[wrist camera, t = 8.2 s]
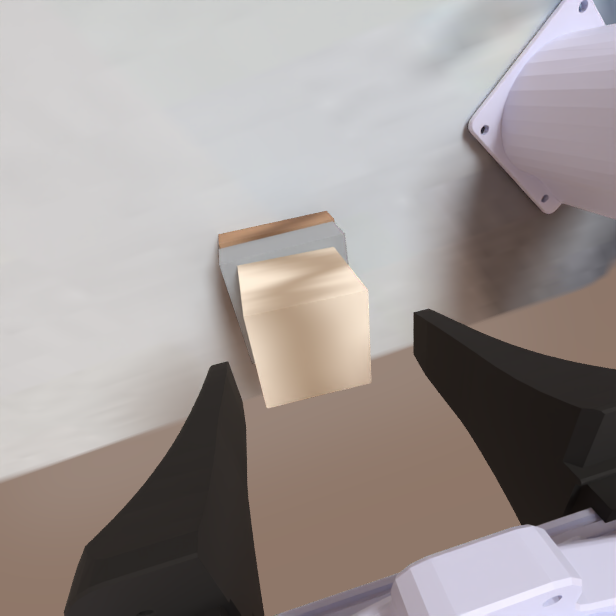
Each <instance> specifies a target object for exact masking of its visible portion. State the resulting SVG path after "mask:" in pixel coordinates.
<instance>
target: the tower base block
mask: <svg viewBox="0 0 616 616" xmlns="http://www.w3.org/2000/svg"><path fill="white" fill-rule="evenodd" d="M331 221H333V222H334V218H333V217H332V216H331V215H330V214H329V213H328V212H327V211H324V212H319V213H315V214H310V215H305V216H301V217H296V218H292V219H287V220H283V221H278V222H273V223H269V224H264V225H260V226H255V227H250V228H246V229H241V230H237V231H232V232H227V233H223V234H219V246H220V249H221V248H225V247H229V246H233V245H237V244H241V243H245V242H249V241H254V240H258V239H262V238H266V237H270V236H274V235H278V234H282V233H286V232H290V231H294V230H299V229H303V228H307V227H311V226H315V225H319V224H323V223H327V222H331Z"/></svg>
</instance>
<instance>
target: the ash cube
mask: <svg viewBox="0 0 616 616" xmlns="http://www.w3.org/2000/svg"><path fill="white" fill-rule="evenodd" d="M237 267H238V275H239V284H240V292H241V300H242V309H243V317H244V321H245V325H246V329H247V333H248V337H249V341H250V345H251V349H252V353H253V356H254V360H255V364H256V368H257V372H258V376H259V380H260V384H261V388H262V392H263V396H264V400H265V404H266V408H267V409H268V408H272V407H275V406H280V405H283V404H288V403H292V402H296V401H300V400H304V399H308V398H312V397H316V396H320V395H324V394H328V393H332V392H336V391H340V390H344V389H348V388H352V387H356V386H360V385H364V384H368V383H371V359H370V331H369V302H368V289H367V288H366V287H365V286H364V284H363V283H362V282H361V281H360V279H359V278H358V277H357V275H356V274H355V273H354V272H353V270H352V269H351V268H350V267H349V265H348V264H347V263H346V262H345V260H344V259H343V258H342V257H341V255H340V254H339V253H338V251H337V250H336V249H335V248H334V247H329V248H324V249H319V250H314V251H309V252H304V253H299V254H294V255H289V256H284V257H279V258H274V259H269V260H263V261H258V262H253V263H248V264H243V265H238V266H237Z"/></svg>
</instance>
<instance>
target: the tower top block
mask: <svg viewBox="0 0 616 616" xmlns="http://www.w3.org/2000/svg"><path fill="white" fill-rule="evenodd" d="M329 247H334V248H335V249H336V250H337V251H338V253H339V254H340V255H341V257H342V258H343V259H344V260H345V262H346V263H347V264H348V256H347V248H346V240H345V233H344V232H343V231H342V230H341V229H340V228H339V227H338V226H337V225H336V224H335V223H334V222H333V221H331V222H327V223H323V224H319V225H315V226H311V227H307V228H303V229H299V230H294V231H290V232H286V233H282V234H278V235H274V236H270V237H266V238H262V239H258V240H254V241H249V242H245V243H241V244H237V245H233V246H229V247H225V248H221V249H219V266H220V269H221V272H222V275H223V278H224V281H225V284H226V287H227V290H228V293H229V296H230V299H231V302H232V305H233V308H234V311H235V314H236V317H237V320H238V323H239V326H240V329H241V332H242V335H243V338H244V341H245V344H246V347H247V350H248V353H249V356H250V359H251V362H252V364H253V363H255V360H254V356H253V353H252V349H251V345H250V341H249V337H248V333H247V329H246V325H245V321H244V317H243V309H242V300H241V292H240V284H239V275H238V267H237V266H238V265H243V264H248V263H253V262H258V261H263V260H269V259H274V258H279V257H284V256H289V255H294V254H299V253H304V252H309V251H314V250H319V249H324V248H329ZM348 265H349V264H348Z"/></svg>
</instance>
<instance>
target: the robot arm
mask: <svg viewBox="0 0 616 616" xmlns="http://www.w3.org/2000/svg"><path fill="white" fill-rule="evenodd" d="M580 3H581V5H582V6H581V10H580V12H579V5H580ZM483 126H484V127H485V130H484V132H483V133H482V134H481V128H482V127H483ZM468 129H469V131H470V133H471V134H472V135H473V136H474V137H475V138H476V139H477V140H478V141H479V142H480V144H481V145H482V146H483V147H484V148H485V149H486V150H487V151H488V152H489V153H490V155H491V156H492V157H493V158H494V159H495V160H496V161H497V162H498V163H499V164H500V166H501V167H502V168H503V169H504V170H505V171H506V172H507V173H508V174H509V175H510V177H511V178H512V179H513V180H514V181H515V182H516V183H517V184H518V185H519V186H520V187H521V189H522V190H523V191H524V192H525V193H526V194H527V195H528V196H529V197H530V198H531V200H532V201H533V202H534V203H535V204H536V205H537V206H538V207H539V208H540V209H541V211H542V212H544V213H546V214H551V213H553V212H554V211H556V209H557V208H558V207H559V206H560V205H561V204H562V203H563V204H567V205H570V206H573V207H576V208H580V209H583V210H586V211H589V212H593V213H596V214H599V215H603V216H606V217H609V218H612V219H616V24H611V25H605V23H604V21H603V19H602V17H601V16H600V14H599V12H598V10H597V8H596V6H595V4H594V2H593V1H592V0H562V2H561V3H560V4H559V6H558V7H557V8H556V9H555V11H554V12H553V13H552V15H551V16H550V17H549V18H548V20H547V21H546V22H545V24H544V25H543V26H542V27H541V29H540V30H539V31H538V33H537V34H536V35H535V36H534V38H533V39H532V40H531V42H530V43H529V44H528V45H527V47H526V48H525V49H524V51H523V52H522V53H521V54H520V56H519V57H518V58H517V60H516V61H515V62H514V64H513V65H512V66H511V67H510V69H509V70H508V71H507V73H506V74H505V75H504V76H503V78H502V79H501V80H500V82H499V83H498V84H497V85H496V87H495V88H494V89H493V91H492V92H491V93H490V94H489V96H488V97H487V98H486V100H485V101H484V102H483V103H482V105H481V106H480V107H479V109H478V110H477V111H476V112H475V114H474V115H473V116H472V118H471V119H470V121H469V124H468ZM543 196H544V198H543V199H542V197H543ZM541 199H542V200H541ZM414 356H415V357H416V359H417V361H418V362H419V364H420V366H421V368H422V370H423V371H424V373H425V375H426V376H427V377H428V379H429V380H430V381H431V383H432V384H433V385H434V387H435V388H436V389H437V391H438V392H439V393H440V394H441V396H442V397H443V398H444V400H445V401H446V402H447V403H448V405H449V406H450V407H451V409H452V410H453V411H454V412H455V414H456V415H457V416H458V418H459V419H460V420H461V422H462V423H463V424H464V426H465V427H466V429H467V430H468V432H469V434H470V435H471V437H472V438H473V440H474V442H475V443H476V445H477V446H478V448H479V450H480V451H481V452H482V455H483V456H484V458H485V460H486V461H487V463H488V465H489V466H490V468H491V470H492V472H493V473H494V475H495V477H496V478H497V480H498V482H499V484H500V486H501V488H502V489H503V491H504V493H505V495H506V497H507V499H508V500H509V502H510V504H511V506H512V508H513V510H514V512H515V513H516V516H517V517H518V519H519V521H520V523H521V526H516V527H511V528H508V529H506V530H503V531H500V532H497V533H494V534H491V535H488V536H485V537H482V538H479V539H476V540H473V541H470V542H467V543H464V544H461V545H458V546H455V547H452V548H450V549H446V550H443V551H441V552H438V553H435V554H432V555H429V556H426V557H424V558H422V559H420V560H418V561H416V562H414V563H411V564H410V565H408V566H407V567H406V568H405V569H404V570H403V571H401V572H400V573H397V574H394V575H391V576H388V577H385V578H382V579H380V580H376V581H374V582H371V583H368V584H365V585H362V586H359V587H356V588H353V589H350V590H347V591H344V592H341V593H338V594H336V595H332V596H330V597H327V598H324V599H321V600H318V601H315V602H312V603H309V604H306V605H303V606H300V607H297V608H294V609H292V610H289V611H286V612H283V613H280V614H277V615H274V616H616V370H615V369H609V368H603V367H598V366H592V365H587V364H582V363H576V362H572V361H567V360H563V359H559V358H555V357H551V356H547V355H543V354H540V353H536V352H533V351H530V350H527V349H523V348H520V347H517V346H514V345H511V344H509V343H506V342H503V341H501V340H498V339H495V338H493V337H490V336H488V335H486V334H483V333H481V332H479V331H476V330H474V329H472V328H470V327H467V326H465V325H463V324H461V323H459V322H457V321H455V320H452V319H450V318H448V317H446V316H444V315H442V314H440V313H437V312H435V311H433V310H430V309H426V310H422V311H418V312H414ZM246 453H247V451H246V424H245V417H244V409H243V402H242V399H241V396H240V393H239V390H238V388H237V385H236V382H235V379H234V376H233V374H232V371H231V368H230V365H229V363H228V362H224V363H220V364H216V365H212V366H211V367H210V369H209V371H208V374H207V376H206V379H205V381H204V384H203V386H202V389H201V391H200V393H199V396H198V398H197V400H196V402H195V404H194V406H193V408H192V410H191V412H190V414H189V416H188V418H187V420H186V422H185V424H184V426H183V427H182V429H181V431H180V433H179V435H178V436H177V438H176V440H175V441H174V443H173V444H172V446H171V448H170V449H169V451H168V452H167V454H166V455H165V457H164V458H163V460H162V461H161V462H160V464H159V465H158V466H157V468H156V469H155V471H154V472H153V473H152V475H151V476H150V477H149V478H148V480H147V481H146V482H145V484H144V485H143V486H142V487H141V488H140V490H139V491H138V492H137V493H136V494H135V496H134V497H133V498H132V499H131V500H130V501H129V502H128V503H127V505H126V506H125V507H124V508H123V509H122V510H121V511H120V512H119V513H118V514H117V515H116V516H115V518H114V519H113V520H112V521H111V522H110V523H109V524H108V525H107V526H106V527H105V528H104V529H103V530H102V531H101V532H100V533H99V534H98V535H97V536H96V537H95V538H94V539H93V540H91V541H90V542H89V543H88V544H87V545H86V546H85V548H84V551H83V554H82V556H81V559H80V561H79V564H78V567H77V570H76V573H75V576H74V579H73V583H72V586H71V590H70V593H69V597H68V600H67V603H66V607H65V610H64V616H264V610H263V603H262V597H261V591H260V584H259V577H258V570H257V563H256V556H255V549H254V541H253V533H252V525H251V518H250V509H249V502H248V490H247V489H248V488H247V454H246Z"/></svg>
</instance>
